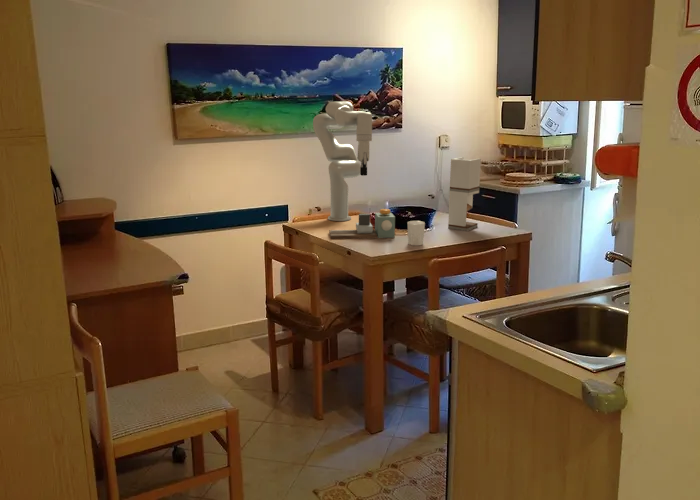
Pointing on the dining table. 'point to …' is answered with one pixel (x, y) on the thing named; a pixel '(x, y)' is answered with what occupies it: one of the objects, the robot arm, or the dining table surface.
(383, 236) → the pale green block
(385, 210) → the button
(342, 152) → the robot arm
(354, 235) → the rail board
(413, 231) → the white cup
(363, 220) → the carriage
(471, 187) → the coffee grinder
